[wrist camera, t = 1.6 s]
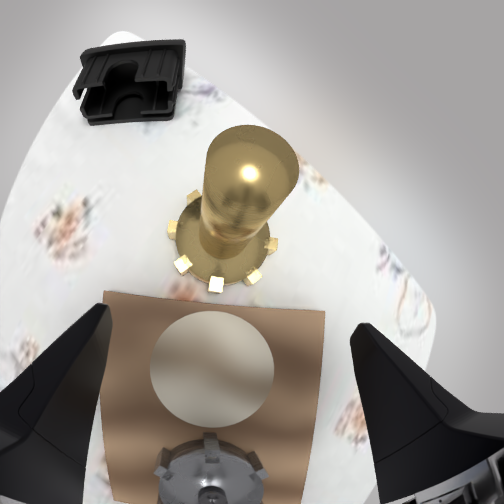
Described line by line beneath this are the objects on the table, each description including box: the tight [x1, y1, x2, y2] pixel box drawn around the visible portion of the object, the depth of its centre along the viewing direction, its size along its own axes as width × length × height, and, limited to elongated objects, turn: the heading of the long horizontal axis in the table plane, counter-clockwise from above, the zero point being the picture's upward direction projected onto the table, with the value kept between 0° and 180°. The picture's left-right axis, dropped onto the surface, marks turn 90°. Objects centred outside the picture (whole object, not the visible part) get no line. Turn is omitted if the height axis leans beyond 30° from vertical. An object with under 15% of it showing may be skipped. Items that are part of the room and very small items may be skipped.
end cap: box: [72, 39, 186, 126], centre depth 20 cm, size 10×7×7 cm
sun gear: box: [153, 432, 269, 504], centre depth 14 cm, size 9×8×4 cm
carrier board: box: [100, 291, 325, 504], centre depth 18 cm, size 20×17×2 cm
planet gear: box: [167, 125, 299, 294], centre depth 16 cm, size 8×8×12 cm
